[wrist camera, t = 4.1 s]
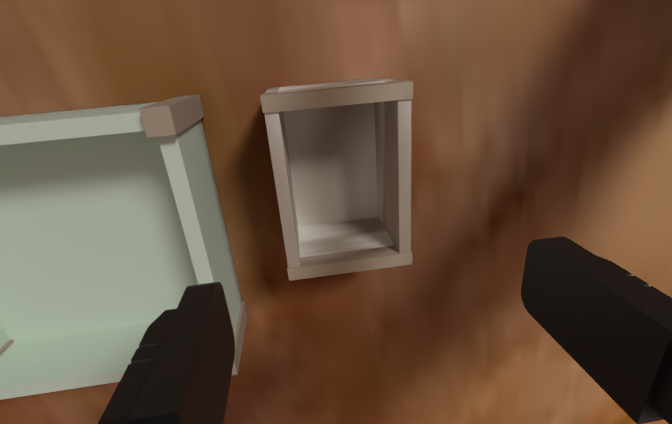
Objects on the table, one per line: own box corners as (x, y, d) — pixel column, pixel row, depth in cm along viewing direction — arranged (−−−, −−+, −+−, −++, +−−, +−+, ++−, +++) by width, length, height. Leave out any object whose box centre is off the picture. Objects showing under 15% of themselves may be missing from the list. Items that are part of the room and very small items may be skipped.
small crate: (382, 76, 20) (413, 81, 15) (386, 221, 24) (412, 264, 19) (267, 87, 20) (260, 95, 15) (289, 233, 24) (289, 280, 18)
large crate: (199, 94, 20) (168, 105, 15) (247, 313, 26) (237, 374, 21) (-118, 123, 18) (-268, 146, 13) (10, 347, 24) (-62, 420, 19)
